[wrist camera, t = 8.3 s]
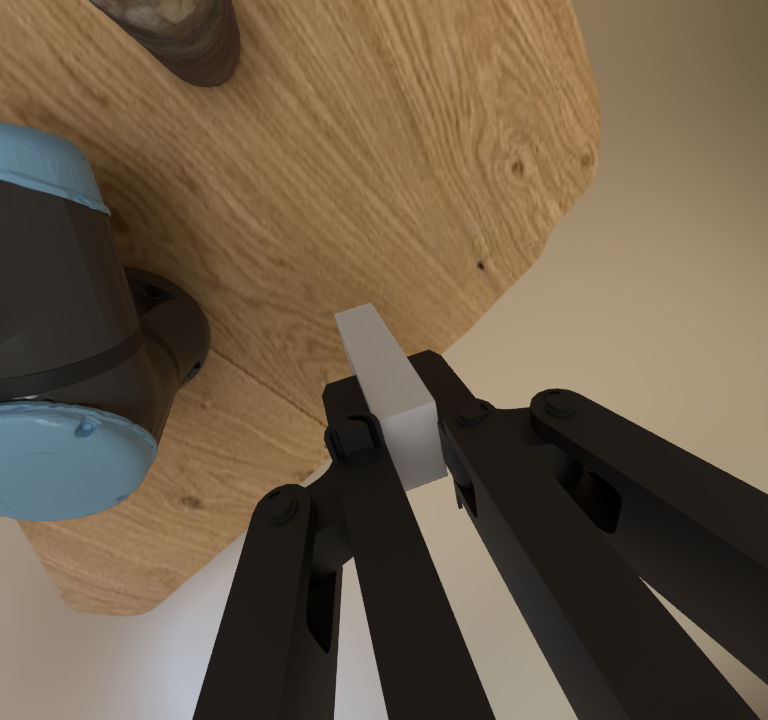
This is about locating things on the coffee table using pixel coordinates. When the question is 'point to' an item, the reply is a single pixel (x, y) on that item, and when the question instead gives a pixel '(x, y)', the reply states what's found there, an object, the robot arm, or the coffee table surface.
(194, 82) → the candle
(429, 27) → the coffee table surface
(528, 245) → the coffee table surface
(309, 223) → the coffee table surface
